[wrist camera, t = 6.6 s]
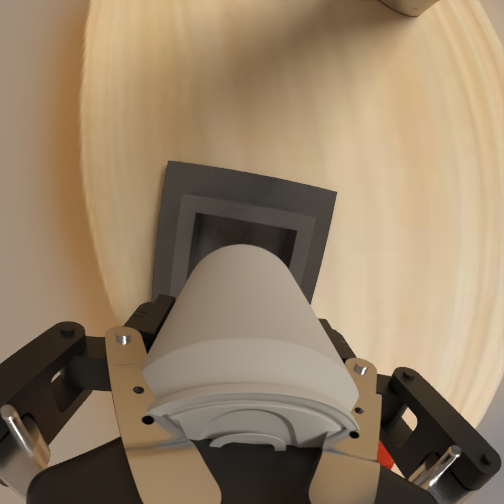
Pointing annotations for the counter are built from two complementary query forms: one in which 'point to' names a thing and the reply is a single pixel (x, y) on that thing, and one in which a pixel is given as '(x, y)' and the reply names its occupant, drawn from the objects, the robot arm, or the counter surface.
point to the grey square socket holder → (238, 222)
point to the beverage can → (248, 357)
